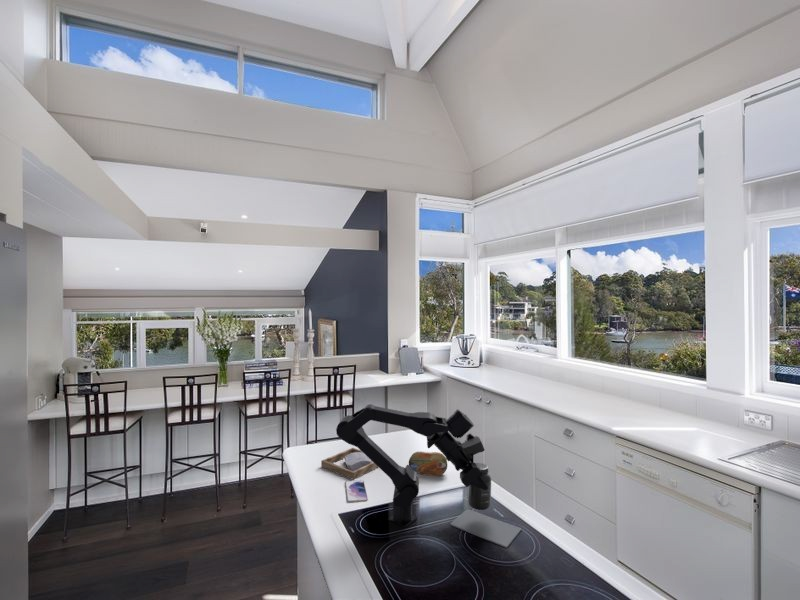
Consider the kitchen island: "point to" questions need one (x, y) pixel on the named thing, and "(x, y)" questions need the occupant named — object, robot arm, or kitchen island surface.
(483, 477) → the supplement bottle
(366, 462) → the stone block
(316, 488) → the kitchen island surface
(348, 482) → the smartphone
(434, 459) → the tin
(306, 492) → the kitchen island surface
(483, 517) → the rubber mat
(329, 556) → the kitchen island surface
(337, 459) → the walnut tray frame
